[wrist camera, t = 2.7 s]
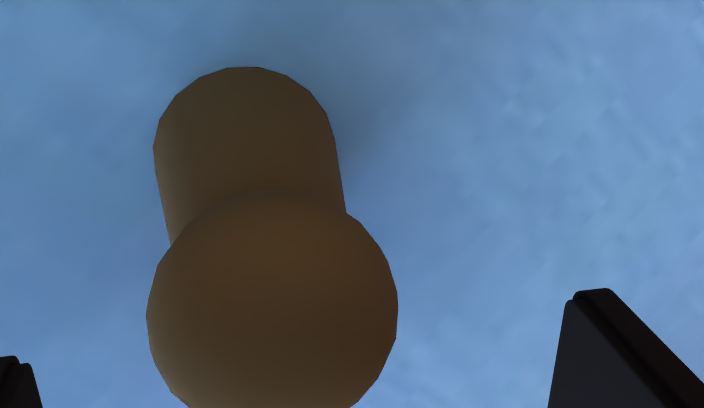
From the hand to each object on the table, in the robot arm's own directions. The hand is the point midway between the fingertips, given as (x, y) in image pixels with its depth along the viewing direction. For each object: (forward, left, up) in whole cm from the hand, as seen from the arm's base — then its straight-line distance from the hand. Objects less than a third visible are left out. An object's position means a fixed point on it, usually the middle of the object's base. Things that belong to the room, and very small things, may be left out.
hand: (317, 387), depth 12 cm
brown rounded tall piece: (0, 0, -12) cm, 12 cm away
